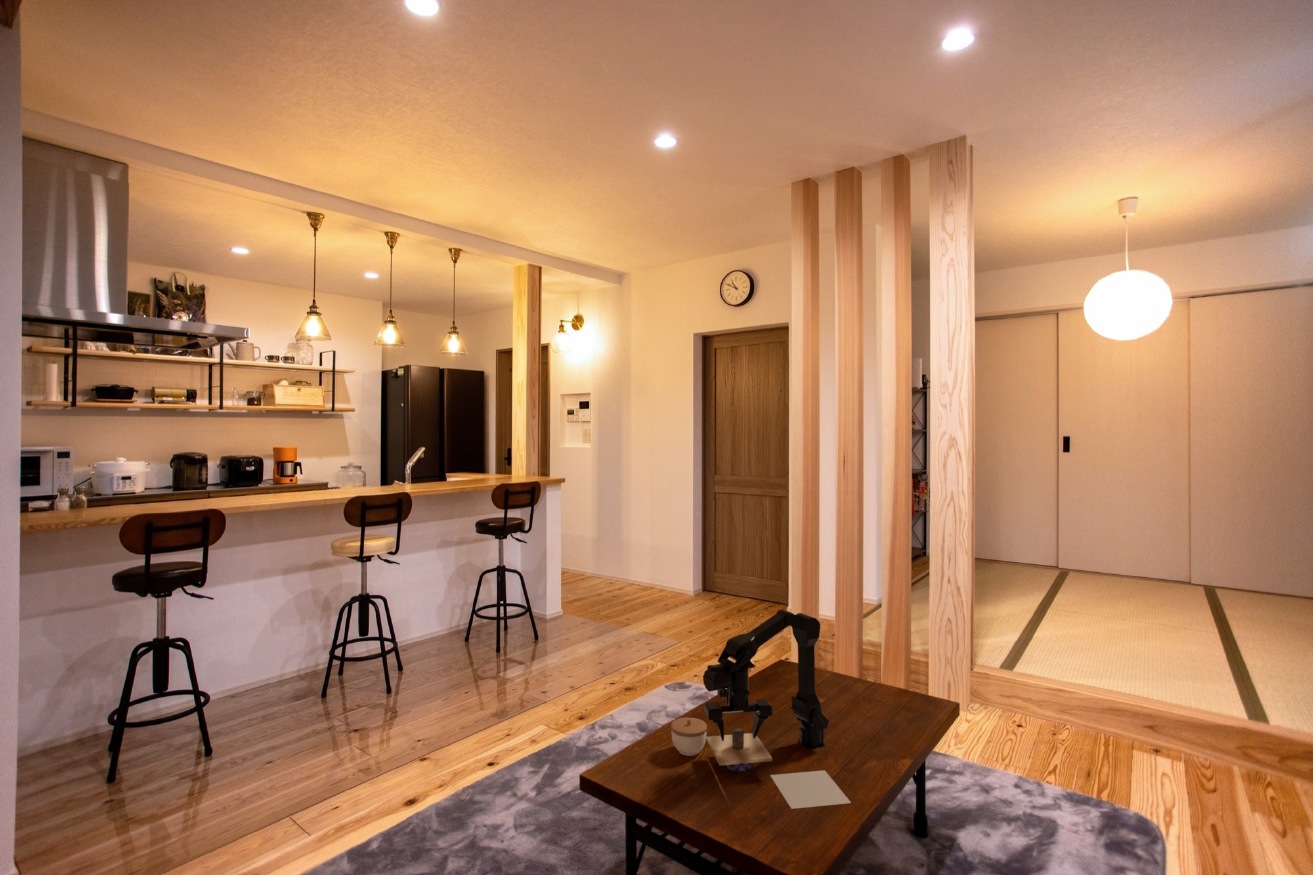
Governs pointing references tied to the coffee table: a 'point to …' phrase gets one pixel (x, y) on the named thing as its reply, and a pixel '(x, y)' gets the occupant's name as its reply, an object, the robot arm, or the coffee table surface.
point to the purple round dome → (739, 767)
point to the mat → (809, 789)
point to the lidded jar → (689, 735)
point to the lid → (738, 748)
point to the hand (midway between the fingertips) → (738, 739)
